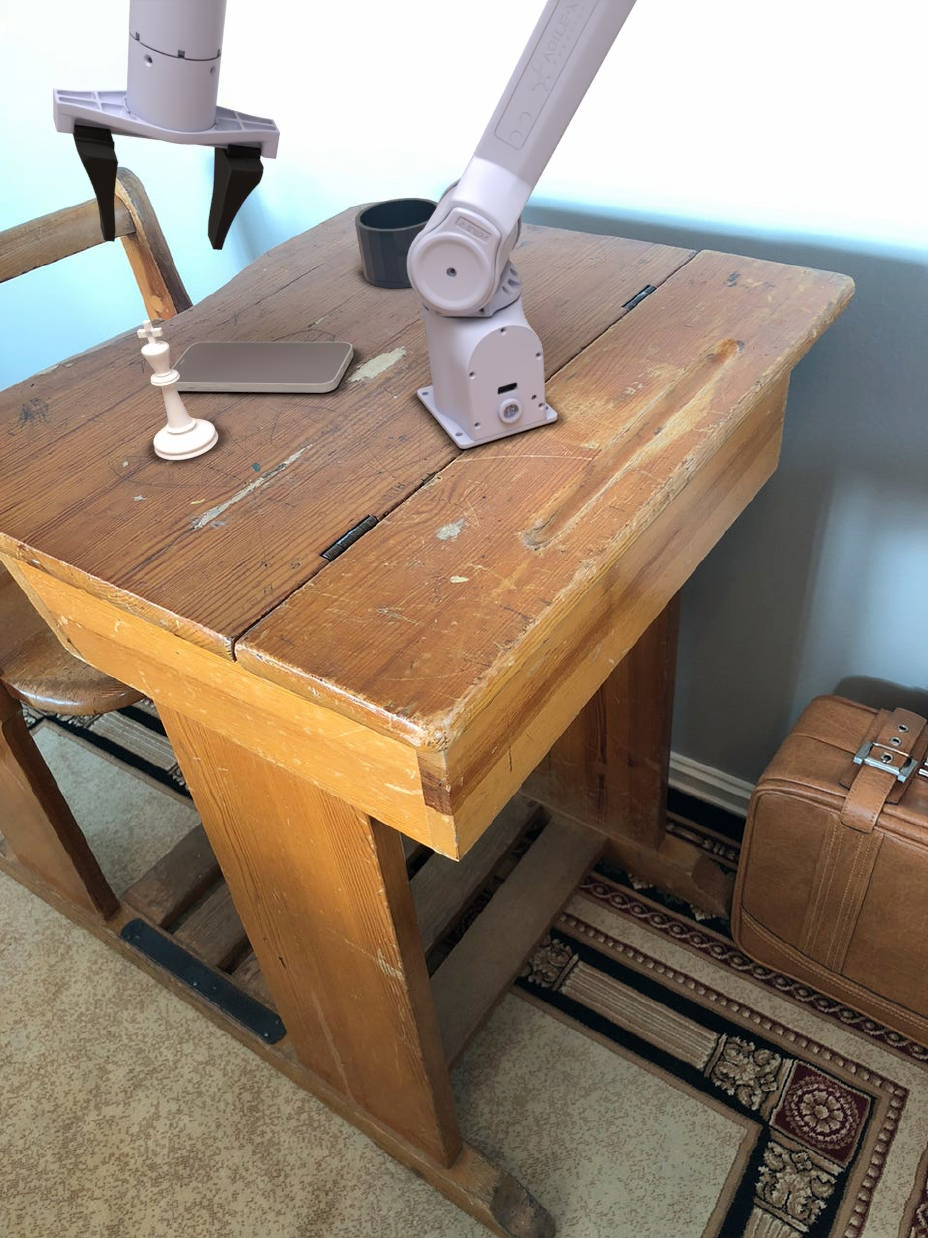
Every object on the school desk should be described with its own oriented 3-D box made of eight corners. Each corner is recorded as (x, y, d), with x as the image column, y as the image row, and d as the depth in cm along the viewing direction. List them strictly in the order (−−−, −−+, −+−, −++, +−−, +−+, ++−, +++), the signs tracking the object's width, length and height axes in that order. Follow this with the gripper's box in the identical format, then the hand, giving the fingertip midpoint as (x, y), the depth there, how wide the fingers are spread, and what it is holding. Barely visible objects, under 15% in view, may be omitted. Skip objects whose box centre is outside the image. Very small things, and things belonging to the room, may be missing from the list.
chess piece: (210, 458, 73) (171, 334, 67) (147, 462, 74) (102, 340, 67) (224, 423, 77) (188, 303, 70) (163, 428, 77) (122, 309, 71)
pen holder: (461, 274, 94) (455, 216, 90) (380, 295, 92) (371, 237, 89) (430, 246, 100) (423, 191, 96) (353, 266, 98) (343, 210, 94)
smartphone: (332, 384, 78) (159, 382, 81) (334, 394, 79) (163, 392, 81) (355, 341, 83) (192, 341, 86) (357, 351, 84) (195, 350, 87)
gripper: (272, 34, 67) (247, 219, 77) (46, -7, 61) (50, 200, 71) (298, 79, 64) (268, 267, 73) (59, 40, 57) (61, 252, 67)
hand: (162, 238), depth 72 cm, fingers open, 7 cm apart
